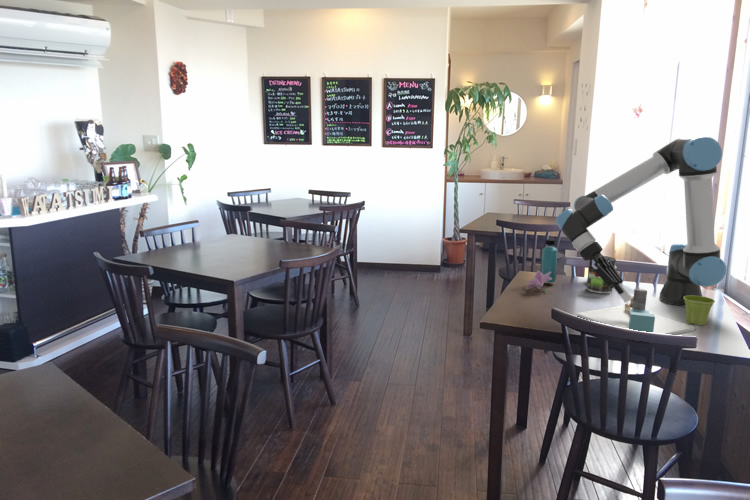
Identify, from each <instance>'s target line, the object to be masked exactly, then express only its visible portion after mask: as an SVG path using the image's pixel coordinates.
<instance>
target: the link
mask: <svg viewBox="0 0 750 500" xmlns="http://www.w3.org/2000/svg"><path fill="white" fill-rule="evenodd" d="M633 292H634V293H633V296H632V295H631V296H632V297H633V299H631V300H630V301H629V302H626V303H624V305H625V311H627V312H629V309H636V310H646V304H647V295H648V290H647V289H643V288H635V289H634V290H633Z"/></svg>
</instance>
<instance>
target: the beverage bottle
mask: <svg viewBox="0 0 750 500" xmlns="http://www.w3.org/2000/svg"><path fill="white" fill-rule="evenodd" d="M545 245H547V246H545V247H544V248H542V255H541V256H542V258H541V270H540V271H541V272H542V273H543V275H545V274H547V273H549V272H551V273H550V275H549V276H548V277H551V278H552V280H549V281H546V282H545V283H555V282H556V279H557V267H558V266H557V265H558V264H557V262H558V261H557V260H558V251H559V250H558V249H557V248H556V247H555V245H556V239H552V238H551V239H550V238H547V239H546V240H545Z"/></svg>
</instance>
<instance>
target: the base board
mask: <svg viewBox="0 0 750 500" xmlns="http://www.w3.org/2000/svg"><path fill="white" fill-rule="evenodd" d="M649 313H650V314H654V316H655V322H654V330H653V332H654V333H665V334H674V335H678V333H679V334H683V333H682V332H684V333H688V332H692V331H695V330H696V327H694V326H692V325H688V324H686V323H682V322H680V321H676V320H673V319H670V318H667V317H664V316H661V315H658V314H655V313H651V312H649ZM575 315H577V316H576V317H578V316H580V317H579V318H581V317H583V318H586V319H589V320H592V321H596V322H600V323H604V324H609V325H612V326H618V327H622V328H629V320H630V314H629V312H627V311H625V304H624V305H617V306H610V307H604V308H598V309H594V310H587V311H582V312H576V314H575ZM583 318H582V319H583ZM586 319H585V320H586ZM589 320H588V321H589Z"/></svg>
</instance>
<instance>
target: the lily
mask: <svg viewBox="0 0 750 500" xmlns="http://www.w3.org/2000/svg"><path fill="white" fill-rule="evenodd" d="M550 273H551V272H549V273H547V274H545V275H543V273H542V272H541V270H537V271H536V273H535V274H534V276H533V278H534V279H530V280H528V281H526V284H529V285H528V286H527V287H526V288H525V291H528V290H529V289H532V288H534V287H536V288H537V289H538V290H541V288H542V289H543V292H544V294H545V295H547V293H546V290H545V288H544V284H545V283H547V282H546V281H549V280H552V278H551V277H548V276H549V275H550Z"/></svg>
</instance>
